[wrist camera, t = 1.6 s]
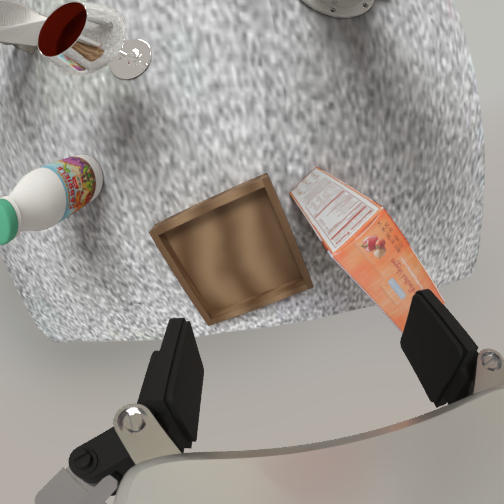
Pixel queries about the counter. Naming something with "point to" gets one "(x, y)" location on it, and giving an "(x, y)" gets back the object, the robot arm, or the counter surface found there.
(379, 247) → the cracker box
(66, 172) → the milk bottle
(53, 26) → the wineglass
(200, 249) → the walnut tray
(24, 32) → the skyscraper
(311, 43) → the counter surface
